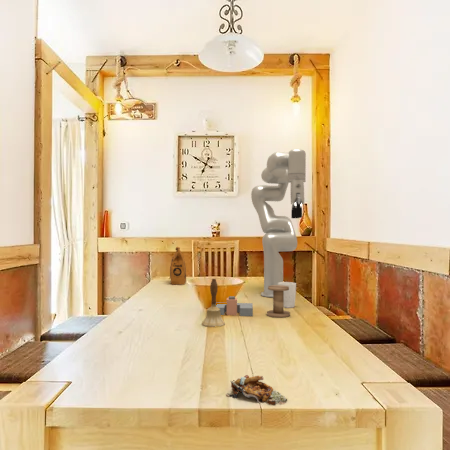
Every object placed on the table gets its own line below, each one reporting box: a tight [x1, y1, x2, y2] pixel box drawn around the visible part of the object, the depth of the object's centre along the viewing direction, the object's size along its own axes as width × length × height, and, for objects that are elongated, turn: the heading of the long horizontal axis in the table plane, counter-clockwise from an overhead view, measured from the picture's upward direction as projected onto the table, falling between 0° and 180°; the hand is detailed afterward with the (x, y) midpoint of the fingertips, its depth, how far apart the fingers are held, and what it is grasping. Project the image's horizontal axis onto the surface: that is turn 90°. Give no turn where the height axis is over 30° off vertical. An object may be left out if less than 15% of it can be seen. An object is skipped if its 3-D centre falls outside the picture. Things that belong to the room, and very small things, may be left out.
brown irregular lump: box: [225, 374, 287, 406], centre depth 78 cm, size 7×12×4 cm, turn 67°
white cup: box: [278, 281, 297, 309], centre depth 167 cm, size 8×8×10 cm
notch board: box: [216, 302, 254, 317], centre depth 153 cm, size 16×10×3 cm, turn 87°
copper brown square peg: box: [226, 295, 238, 316], centre depth 151 cm, size 4×4×7 cm
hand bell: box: [201, 278, 226, 328], centre depth 135 cm, size 8×8×16 cm
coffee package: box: [169, 246, 187, 286], centre depth 232 cm, size 10×12×22 cm
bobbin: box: [266, 285, 291, 319], centre depth 150 cm, size 9×9×11 cm
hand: (296, 218), depth 167 cm, fingers open, 9 cm apart
